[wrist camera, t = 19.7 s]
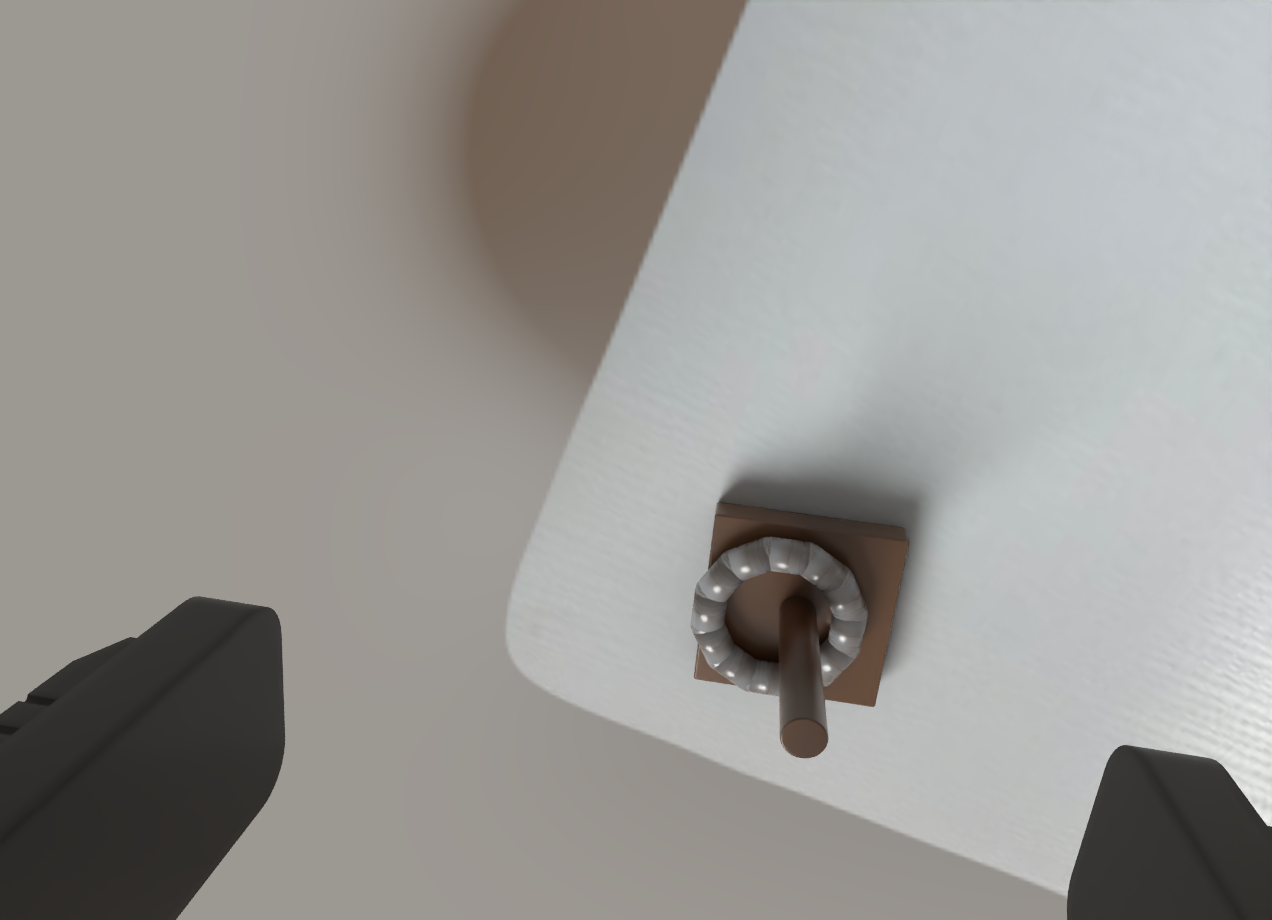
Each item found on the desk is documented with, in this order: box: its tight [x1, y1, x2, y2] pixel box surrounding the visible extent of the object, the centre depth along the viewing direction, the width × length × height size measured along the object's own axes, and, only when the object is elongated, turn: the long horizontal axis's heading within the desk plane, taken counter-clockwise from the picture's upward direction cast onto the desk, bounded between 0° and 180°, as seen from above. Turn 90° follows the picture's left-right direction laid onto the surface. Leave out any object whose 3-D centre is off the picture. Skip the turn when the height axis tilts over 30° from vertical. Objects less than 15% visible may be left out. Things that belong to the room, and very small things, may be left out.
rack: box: [694, 503, 909, 758], centre depth 36 cm, size 8×8×10 cm
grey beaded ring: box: [691, 536, 868, 696], centre depth 39 cm, size 7×7×1 cm
